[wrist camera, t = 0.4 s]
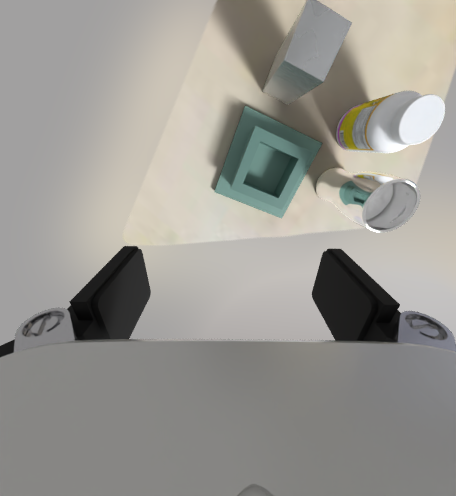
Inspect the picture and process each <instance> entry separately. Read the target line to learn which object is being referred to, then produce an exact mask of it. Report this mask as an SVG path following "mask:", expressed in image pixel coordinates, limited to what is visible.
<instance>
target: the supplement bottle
mask: <svg viewBox="0 0 456 496" xmlns="http://www.w3.org/2000/svg"><path fill="white" fill-rule="evenodd" d="M444 113H445V105H444V102H443V100H442V99H441V98H440V97H439V96H437V95H433V94H429V95H424V96H422V95H421V94H419V93H417V92H414V91H402V92H398V93H395V94H392V95H389V96H386V97H382V98H379V99H376V100H372V101H369V102H366V103H363V104H360V105H357V106H355V107H353V108H351V109H350V110H348V111H347V112H346V113H345V114H344V115H343V117H342V118H341V120H340V121H339V124H338V126H337V131H336V138H337V142H338V144H339V145H340V147H341V148H343V149H344V150H347V151H353V152H375V153H393V152H397V151H400V150H402V149H404V148H405V147H407V146H409V145H415V144H419V143H422V142H424V141H426V140H427V139H429V138H430V137H431V136H432V135H433V134H434V133H435V132H436V131H437V129H438V128H439V126H440V125H441V123H442V120H443V118H444Z"/></svg>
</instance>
